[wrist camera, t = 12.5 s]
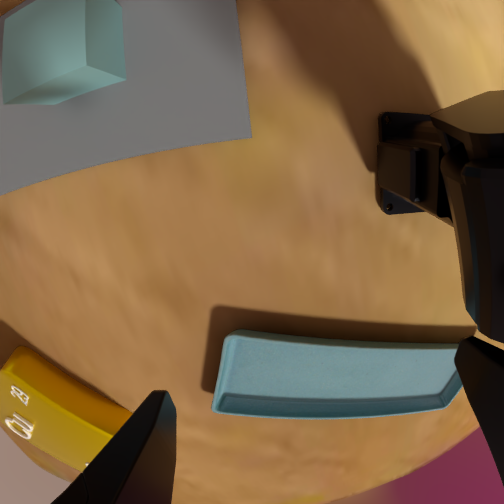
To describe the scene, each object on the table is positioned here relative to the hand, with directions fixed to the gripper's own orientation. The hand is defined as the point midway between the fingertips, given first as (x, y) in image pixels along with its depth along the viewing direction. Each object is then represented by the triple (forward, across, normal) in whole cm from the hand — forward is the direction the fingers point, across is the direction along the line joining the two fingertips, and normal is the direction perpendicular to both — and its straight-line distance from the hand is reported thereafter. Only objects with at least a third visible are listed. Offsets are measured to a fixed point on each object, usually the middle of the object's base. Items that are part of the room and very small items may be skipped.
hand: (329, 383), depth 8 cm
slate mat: (+12, +10, -13) cm, 20 cm away
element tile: (+13, +25, +18) cm, 33 cm away
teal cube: (+11, +10, -13) cm, 20 cm away
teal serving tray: (+13, -7, +14) cm, 20 cm away
